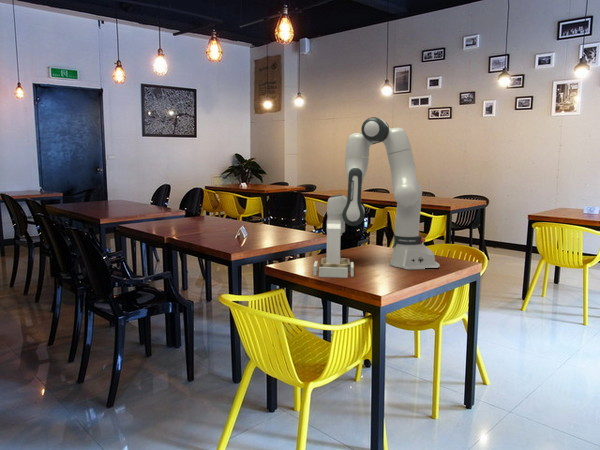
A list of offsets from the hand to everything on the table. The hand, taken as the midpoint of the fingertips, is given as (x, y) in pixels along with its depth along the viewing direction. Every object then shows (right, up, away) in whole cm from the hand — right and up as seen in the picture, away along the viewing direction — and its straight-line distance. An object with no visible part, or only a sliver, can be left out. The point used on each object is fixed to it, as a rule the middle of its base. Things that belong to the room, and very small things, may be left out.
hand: (335, 256), depth 238 cm
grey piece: (-2, -6, -26) cm, 26 cm away
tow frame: (-1, -3, -9) cm, 10 cm away
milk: (-2, -5, -17) cm, 18 cm away
